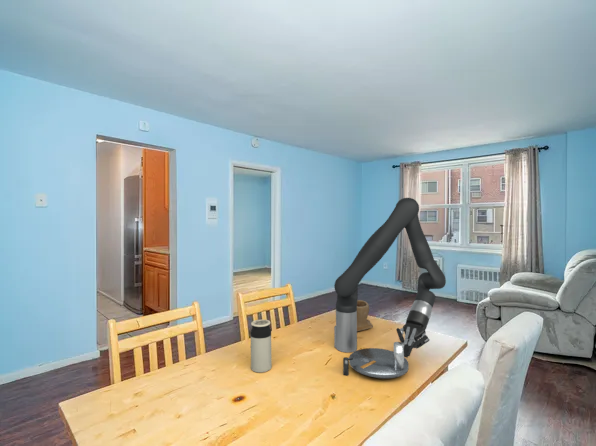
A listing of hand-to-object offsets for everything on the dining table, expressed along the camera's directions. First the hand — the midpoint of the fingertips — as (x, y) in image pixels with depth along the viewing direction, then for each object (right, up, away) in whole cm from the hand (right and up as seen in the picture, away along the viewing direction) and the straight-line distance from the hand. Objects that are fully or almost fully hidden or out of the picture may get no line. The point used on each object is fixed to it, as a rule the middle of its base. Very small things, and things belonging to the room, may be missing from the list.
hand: (404, 356), depth 116 cm
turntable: (-8, -6, +6) cm, 12 cm away
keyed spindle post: (-11, -8, +4) cm, 14 cm away
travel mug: (-53, -8, +8) cm, 55 cm away
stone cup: (-6, -7, +50) cm, 51 cm away
